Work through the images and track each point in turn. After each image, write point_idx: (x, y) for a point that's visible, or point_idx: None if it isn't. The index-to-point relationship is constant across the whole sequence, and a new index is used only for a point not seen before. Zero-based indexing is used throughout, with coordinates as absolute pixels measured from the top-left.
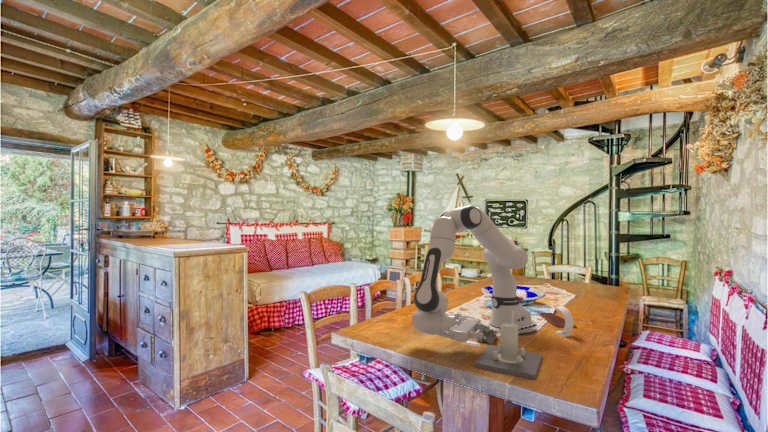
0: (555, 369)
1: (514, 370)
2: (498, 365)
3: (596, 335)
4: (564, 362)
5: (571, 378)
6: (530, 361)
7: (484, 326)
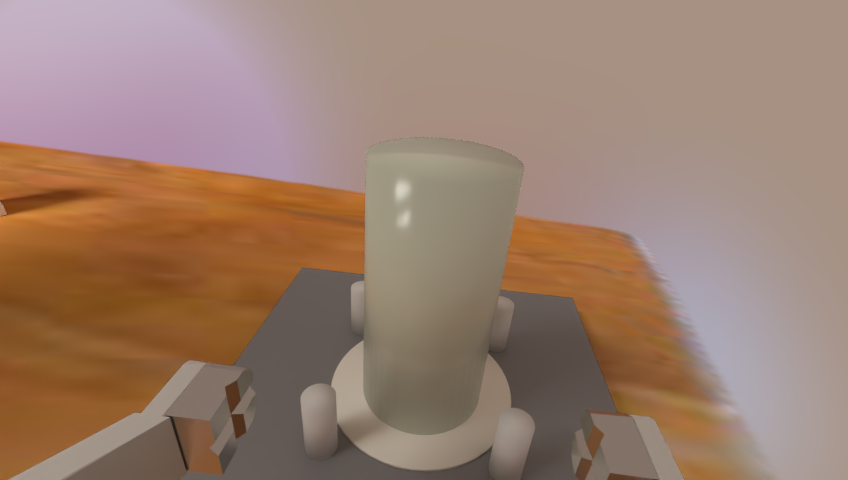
0: None
1: (593, 360)
2: None
3: (33, 166)
4: (331, 240)
5: None
6: None
7: (212, 421)
